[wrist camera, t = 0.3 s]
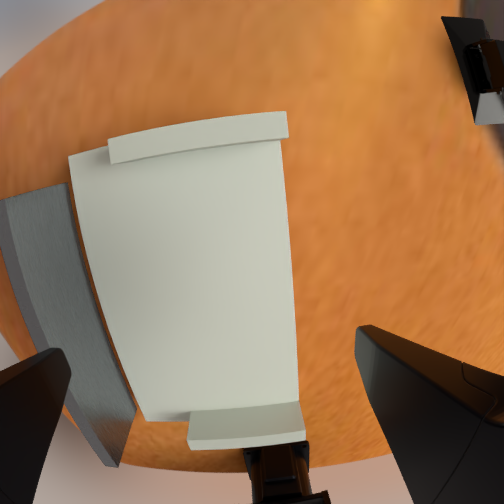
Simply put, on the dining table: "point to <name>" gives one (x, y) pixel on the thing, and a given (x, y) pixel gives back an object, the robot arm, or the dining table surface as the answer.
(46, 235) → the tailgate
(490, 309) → the dining table surface
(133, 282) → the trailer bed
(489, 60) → the black blocky piece
